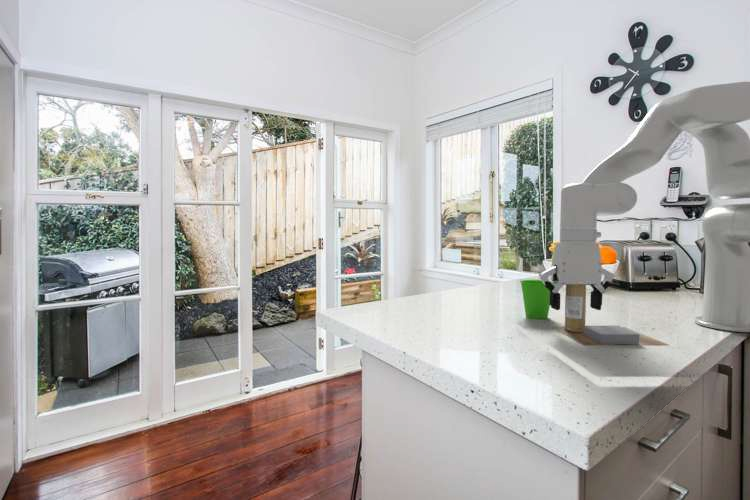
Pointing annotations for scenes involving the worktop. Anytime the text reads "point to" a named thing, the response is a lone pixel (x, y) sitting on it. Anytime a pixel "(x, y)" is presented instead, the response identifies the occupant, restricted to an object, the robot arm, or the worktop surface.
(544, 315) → the cup
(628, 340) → the tile
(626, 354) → the worktop surface
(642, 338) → the board
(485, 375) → the worktop surface
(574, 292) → the sprinkles bottle
